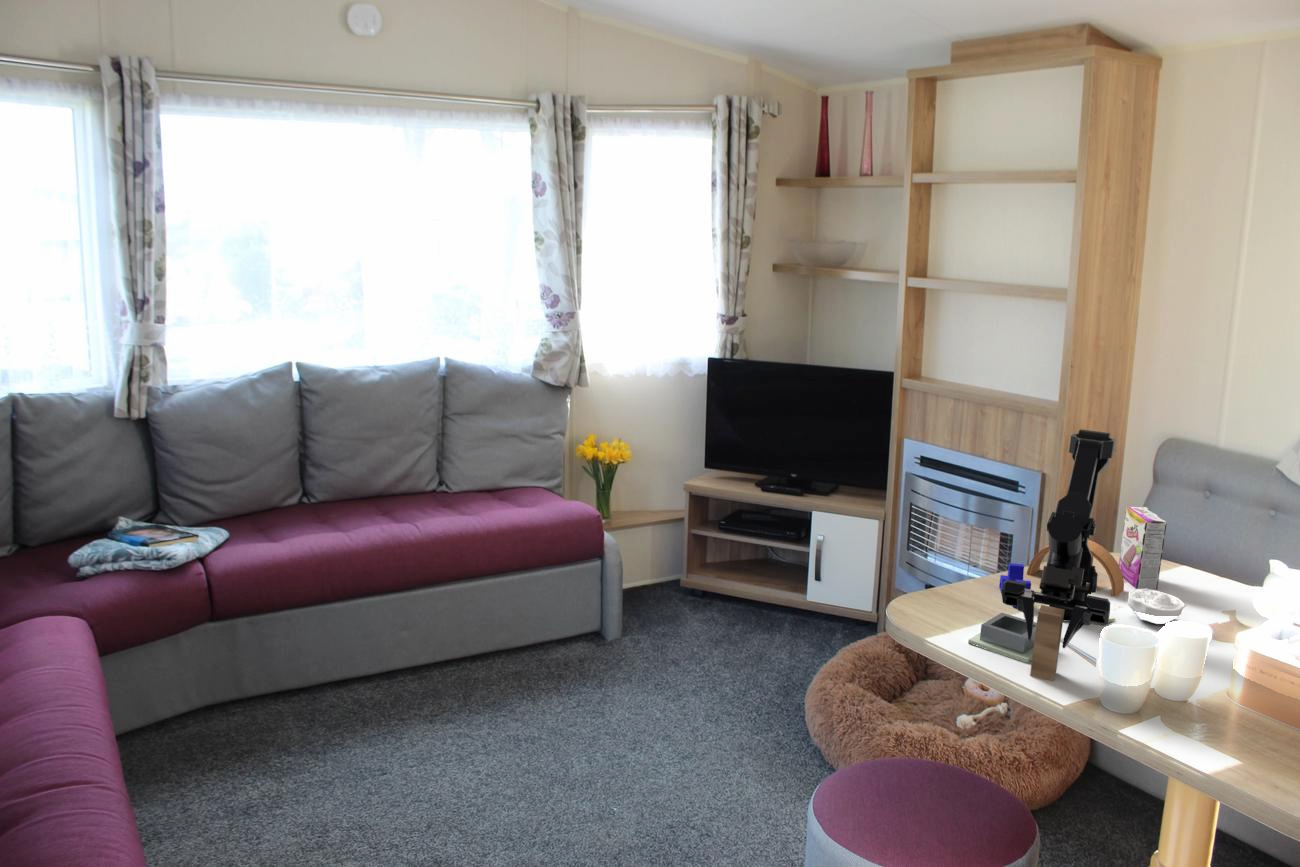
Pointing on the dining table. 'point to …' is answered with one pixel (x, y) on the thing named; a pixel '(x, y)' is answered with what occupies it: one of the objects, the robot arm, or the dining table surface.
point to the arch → (1098, 553)
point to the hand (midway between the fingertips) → (1046, 643)
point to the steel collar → (1008, 633)
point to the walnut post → (1047, 642)
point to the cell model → (1155, 603)
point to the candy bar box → (1142, 547)
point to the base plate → (1002, 650)
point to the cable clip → (1014, 576)
